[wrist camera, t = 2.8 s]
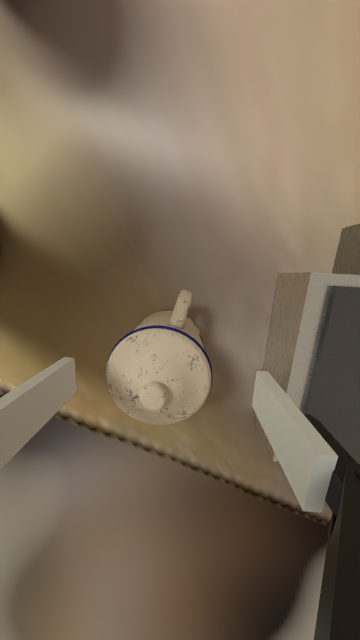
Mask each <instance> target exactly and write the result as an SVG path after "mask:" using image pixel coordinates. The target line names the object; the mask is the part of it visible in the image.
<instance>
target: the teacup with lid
mask: <svg viewBox="0 0 360 640" xmlns="http://www.w3.org/2000/svg"><path fill="white" fill-rule="evenodd" d="M191 301H192V293H191V292H190V291H187V290H181V291H180V293H179V296H178V298H177V301H176V304H175V307H174V310H173V311H159V312H156V313H153V314H151V315H149V316H148V317H146V318H145V319H144V320H143V321H142V322H141V323H140V324H139V325H138V326H137V327H136V328H135V329H134V330H133V331H132V332H130V333H128V334H127V335H125V336H124V337H123V338H122V339H121V340H120V341H119V342H118V343H117V344H116V345H115V347H114V348H113V350H112V351H111V353H110V356H109V358H108V362H107V368H106V381H107V386H108V389H109V392H110V394H111V397H112V398H113V400H114V402H115V403H116V404H117V405H118V407H119V408H120V409H121V410H122V411H123V412H125V413H126V414H127V415H129V416H130V417H132V418H134V419H136V420H138V421H140V422H143V423H147V424H152V425H170V424H174V423H178V422H181V421H183V420H185V419H187V418H189V417H190V416H192V415H193V414H194V413H195V412H197V411H198V410H199V409H200V407H201V406H202V405H203V404H204V402H205V400H206V399H207V396H208V394H209V392H210V389H211V385H212V368H211V363H210V360H209V358H208V356H207V354H206V352H205V350H204V345H203V341H202V337H201V333H200V331H199V329H198V327H197V326H196V324H195V323H194V322H193V321H192V320H191V319H190V318H188V317H187V314H188V311H189V308H190V304H191Z"/></svg>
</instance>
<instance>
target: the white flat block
mask: <svg viewBox="0 0 360 640" xmlns="http://www.w3.org/2000/svg"><path fill="white" fill-rule="evenodd" d="M263 371H267V372H269V373H270V375H271V376H272V377H273V378H274V379H275V381H276V382H277V383H278V384H279V386H280V387H281V388H282V389H283V390H284V392H285V393H286V394H287V395H288V396H289V398H290V399H291V400H292V401H293V402H294V404H295V405H296V406H297V407H298V408H299V410H300V411H301V412H302V413H303V414H310V415H311V416H313V417H314V418H316V419H317V420H318V421H320V422H321V423H322V424H323V426H324V427H325V428H326V429H327V431H329V432H330V433H331V434H332V435H333V437H334V438H335V439H336V440H337V441H338V442H339V443H340V444H341V445H342V447H343V448H344V449H345V450H346V451H347V452H348V453H349V454H350V455H351V457H352V458H353V459H354V460H355V461H356V462H357V463H358V464H360V224H356V225H353V226H350V227H346V228H343V229H342V233H341V237H340V242H339V246H338V251H337V255H336V259H335V264H334V268H333V273H313V272H303V273H279V275H278V281H277V287H276V293H275V299H274V305H273V311H272V317H271V323H270V329H269V335H268V341H267V347H266V353H265V359H264V365H263ZM254 422H255V424H256V426H257V428H258V430H259V433H260V435H261V437H262V439H263V441H264V444H265V446H266V448H267V450H268V452H269V455H270V457H271V459H272V461H273V462H279V461H278V458H277V456H276V454H275V452H274V450H273V448H272V446H271V444H270V442H269V440H268V438H267V436H266V434H265V432H264V430H263V428H262V425H261V423H260V421H259V419H258V417H257V415H256V413H255V420H254Z"/></svg>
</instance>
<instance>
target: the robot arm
mask: <svg viewBox="0 0 360 640" xmlns="http://www.w3.org/2000/svg"><path fill="white" fill-rule="evenodd" d="M76 392H77V389H76V374H75V359H74V358H71V357H63V358H62V359H60V360H59V361H57V362H56V363H54V364H52V365H51V366H49V367H48V368H46V369H45V370H43V371H42V372H40V373H38V374H37V375H35V376H34V377H32V378H31V379H29V380H27V381H26V382H24V383H23V384H21V385H20V386H18V387H17V388H15V389H13V390H12V391H10V392H8V393H5V394H3V395H1V396H0V469H1V468H2V467H3V466H4V465H5V464H6V463H7V462H8V461H9V460H10V459H11V458H12V457H13V456H14V455H15V454H16V453H17V452H18V451H19V450H20V449H21V448H22V447H23V445H25V444H26V443H27V442H28V441H29V440H30V439H31V438H32V437H33V436H34V435H35V434H36V433H37V432H38V431H39V429H40V428H42V426H44V424H45V423H46V422H47V421H48V420H49V419H50V418H51V417H52V416H53V415H54V414H55V413H56V412H57V411H58V410H59V409H60V408H61V407H62V406H63V405H64V404H65V403H66V402H67V401H68V400H69V399H70V398H71V397H72V396H73V395H74V394H75V393H76ZM252 407H253V409H254V411H255V413H256V415H257V417H258V419H259V421H260V423H261V425H262V428H263V430H264V432H265V434H266V436H267V438H268V440H269V442H270V444H271V446H272V448H273V450H274V452H275V454H276V456H277V458H278V461H279V463H280V465H281V467H282V469H283V471H284V473H285V475H286V477H287V479H288V481H289V483H290V485H291V487H292V489H293V491H294V494H295V496H296V498H297V500H298V502H299V504H300V506H301V508H302V510H303V511H309V512H320V513H322V512H323V509H324V505H325V502H327V504H328V505H329V507H330V509H331V510H332V512H333V514H332V517H331V520H330V524H329V527H328V530H327V534H328V535H329V536H328V544H327V550H326V558H325V565H324V571H323V578H322V586H321V594H320V600H319V607H318V614H317V621H316V628H315V635H314V640H360V464H358V463H357V462H356V461H355V460H354V459H353V458H352V457H351V455H350V454H349V453H348V452H347V451H346V450H345V449H344V448H343V447H342V445H341V444H340V443H339V442H338V441H337V440H336V439H335V438H334V437H333V435H332V434H331V433H330V432H329V431H327V429H326V428H325V427H324V426H323V424H322V423H321V422H320V421H318V420H317V419H316V418H314V417H313V416H311V415H310V414H303V413H302V412H301V411H300V410H299V408H298V407H297V406H296V405H295V404H294V402H293V401H292V400H291V399H290V398H289V396H288V395H287V394H286V393H285V392H284V390H283V389H282V388H281V387H280V386H279V384H278V383H277V382H276V381H275V379H274V378H273V377H272V376H271V375H270V373H269V372H267V371H257V374H256V380H255V387H254V393H253V400H252Z"/></svg>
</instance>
